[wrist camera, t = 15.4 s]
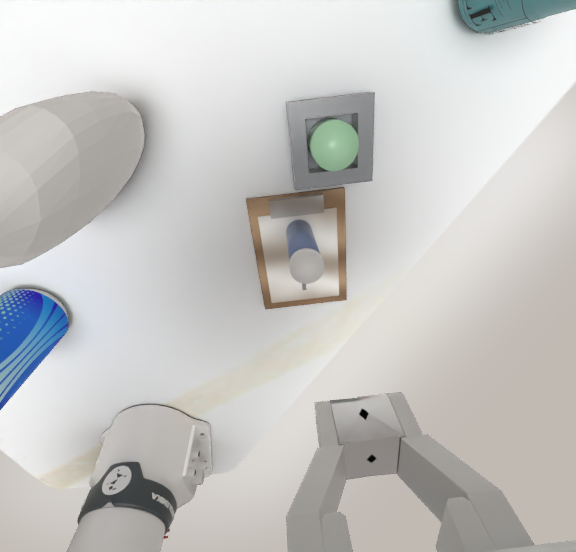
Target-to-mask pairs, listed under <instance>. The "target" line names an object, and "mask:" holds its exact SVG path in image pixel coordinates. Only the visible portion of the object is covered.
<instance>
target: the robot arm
mask: <svg viewBox="0 0 576 552" xmlns="http://www.w3.org/2000/svg"><path fill="white" fill-rule="evenodd" d="M315 413H316V424H317V432H318V441H319V447H320V448H317V450H316V452H315V454H314V457H313V459H312V461H311V463H310V465H309V468H308V470H307V472H306V474H305V476H304V479H303V481H302V483H301V486H300V487H299V490H298V492H297V494H296V496H295V498H294V501H293V503H292V505H291V507H290V509H289V512H288V514H287V516H286V522H287V545H288V552H353V550H352V546H351V540H350V535H349V531H348V526H347V520H346V516H345V515H343V514H342V513H341V512H337V509H338V506H339V502H340V499H341V496H342V493H343V489H344V486H345V483H346V480H347V479H354V478H361V477H366V476H375V475H386V474H398V476H399V477H400V478H401V479H402V480H403V481H404V483H405V484H406V485H407V486H408V487H409V488H410V489H411V490H412V491H413V492H414V493H415V494H416V495H417V497H418V498H419V499H420V500H421V501H422V502H423V503H424V504H425V505H426V506H427V507H428V508H429V510H430V511H431V512H432V513H433V514H434V515H435V516H436V517H437V518H438V519H439V520H440V521H441V522H442V524H441V528H440V532H439V536H438V540H437V544H436V549H437V552H576V540H574V541H565V542H558V543H549V544H541V545H534V543H533V541H532V540H531V538H530V537H529V535H528V533H527V532H526V530H525V528H524V527H523V525H522V524H521V522H520V520H519V519H518V517H517V515H516V514H515V512H514V510H513V509H512V507H511V506H510V504H509V502H508V501H507V499H506V498H505V496H504V494H503V492H502V491H501V490H500V489H498V488H497V487H496V486H494V485H493V484H492V483H491V482H489V481H488V480H486V479H485V478H484V477H482V476H481V475H480V474H479V473H477V472H476V471H475V470H474V469H472V468H471V467H470V466H468V465H467V464H466V463H464V462H463V461H462V460H460V459H459V458H458V457H457V456H455V455H454V454H453V453H451V452H450V451H449V450H447V449H446V448H445V447H443V446H442V445H441V444H439V443H438V442H437V441H435V440H434V439H433V438H431V437H430V436H429V435H423V434H422V431H421V429H420V428H419V425H418V423H417V421H416V419H415V417H414V415H413V413H412V411H411V409H410V407H409V405H408V403H407V400H406V398H405V396H404V394H403V393H401V392H397V393H388V394H378V395H371V396H363V397H358V398H352V399H340V400H330V401H322V402H315ZM100 442H101V444H102V445H103V446H102V449H101V452H100V454H99V457H98V459H97V462H96V465H95V468H94V470H93V473H92V476H91V478H90V486H91V490H90V492H89V494H88V496H87V498H86V500H85V501H84V503H83V506H82V508H81V512H80V515H79V517H78V527H77V530H76V532H75V534H74V536H73V539H72V541H71V543H70V545H69V547H68V550H67V552H160V551H161V546H162V542H163V539H164V538H168V536H164V535H165V534H166V533H167V532H169V531H170V530H169V527H170V524H171V523H172V521H173V519H174V514H175V512H176V509H178V508H179V507H181V506H182V505H184V504H186V503H187V502H189V501H190V500H191V499H192V498H193V497H194V495H195V491H196V487H197V485H201V484H203V480H204V478H205V477H207V476H209V475H210V474H211V472H212V452H211V434H210V425H209V424H208V423H206V422H204V421H200V420H196V419H193V418H191V417H189V416H187V415H185V414H184V413H182V412H180V411H178V410H175V409H172V408H169V407H165V406H159V405H140V406H135V407H131V408H128V409H126V410H124V411H122V412H121V413H119V414H118V415H117V416H116V417H115V419H114V421H113V423H112V426H111V427H110V428H109V429H108V430H106V431H105V432H104V433H103V434H102V436H101V439H100Z"/></svg>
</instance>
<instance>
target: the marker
mask: <svg viewBox="0 0 576 552" xmlns="http://www.w3.org/2000/svg"><path fill="white" fill-rule="evenodd" d="M286 236H287V245H288V254H289V268H290V273H291V276H292V277H293V278H294V279H295V280H296V281H297V282H299V283H303V284H310V283H313V282H315V281H317V280H318V279H320V277H321V276H322V275H323V273H324V262H323V259H322V257H321V255H320V252H319V249H318V246H317V243H316V240H315V238H314V235H313V232H312V229H311V226H310V225H309V223H307V222H306V221H304V220H295V221H293V222H291V223H290V224H289V225H288V227H287V230H286Z"/></svg>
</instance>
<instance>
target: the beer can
mask: <svg viewBox="0 0 576 552" xmlns="http://www.w3.org/2000/svg"><path fill="white" fill-rule="evenodd" d="M68 327H69V320H68V313H67V310H66V308H65V306H64V305H63V304H62V303H61V302H60V301H59V300H58V299H57V298H56V297H54V296H53V295H51V294H49V293H47V292H45V291H42V290H38V289H14V290H10V291H7V292H5V293H4V294H2V295H1V296H0V410H1V409H2V408H3V406H4V405H5V404H6V403H7V402H8V400H9V399H10V398H11V397H12V396H13V395H14V393H15V392H16V391H17V390H18V389H19V388H20V386H21V385H22V384H23V383H24V382H25V381H26V379H27V378H28V377H29V376H30V375H31V373H32V372H33V371H34V370H35V369H36V368H37V366H38V365H39V364H40V363H41V362H42V361H43V359H44V358H45V357H46V356H47V355H48V354H49V352H50V351H51V350H52V349H53V348H54V346H55V345H56V344H57V343H58V342H59V341H60V339H61V338H62V337H63V336H64V335H65V333H66V332H67V330H68Z"/></svg>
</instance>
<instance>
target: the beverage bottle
mask: <svg viewBox="0 0 576 552" xmlns="http://www.w3.org/2000/svg"><path fill="white" fill-rule="evenodd" d="M458 1H459V9H460V13H461V16H462V18H463V20H464V22H465V23H466V24H467V25H468V26H469V27H470V28H472V30H473V31H474V30H476V31H475V32H477V33H478V32H483V33H487V34H486V35H489V33H490V34H494V33H491V32H495V31H496V32H497V31H500V30H502V29H506V28H508V29H509V28H510V27H511V28H510V30H511V29H512V28H513V26H515V27H514V29H515V28H516V27H517V25H522V24H524V23H528V22H532V21H535V20H539V19H542V18H545V17H547V16H550V15H554V14H558V13H562V12H566V11H569V10H573V9H576V0H458ZM540 22H541V21H540ZM534 23H537V22H533V24H534ZM528 25H530V24H528ZM525 26H526V25H525ZM518 27H519V26H518ZM503 31H507V30H503ZM501 32H502V31H501ZM498 33H499V32H498ZM480 34H481V33H480Z"/></svg>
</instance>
